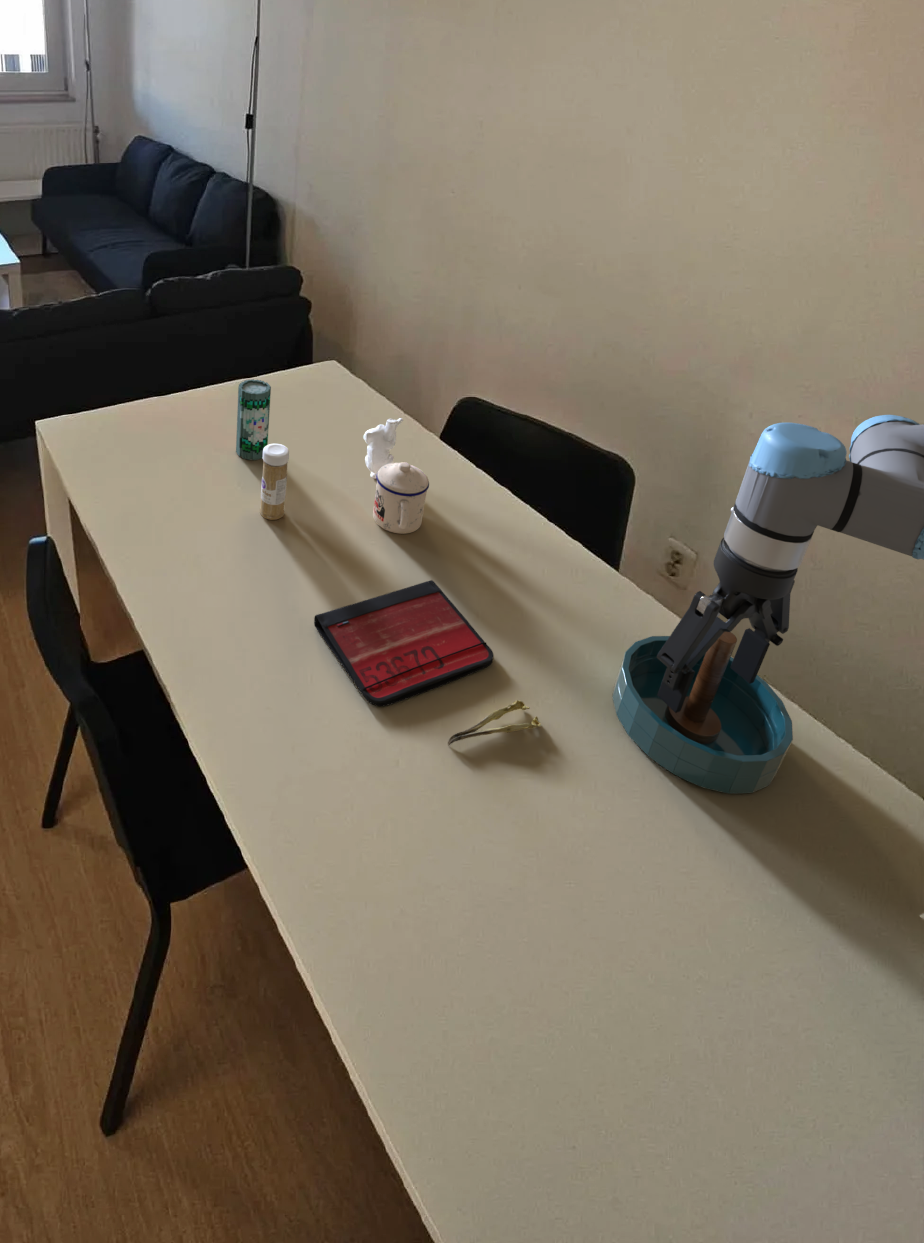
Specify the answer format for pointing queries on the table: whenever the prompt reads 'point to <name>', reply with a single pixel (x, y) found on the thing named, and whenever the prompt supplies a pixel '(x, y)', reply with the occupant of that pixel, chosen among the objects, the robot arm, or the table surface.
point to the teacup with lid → (400, 497)
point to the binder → (403, 643)
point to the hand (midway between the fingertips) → (705, 688)
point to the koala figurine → (380, 445)
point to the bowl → (745, 711)
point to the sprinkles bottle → (274, 481)
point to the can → (252, 418)
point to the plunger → (704, 695)
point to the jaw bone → (506, 729)
